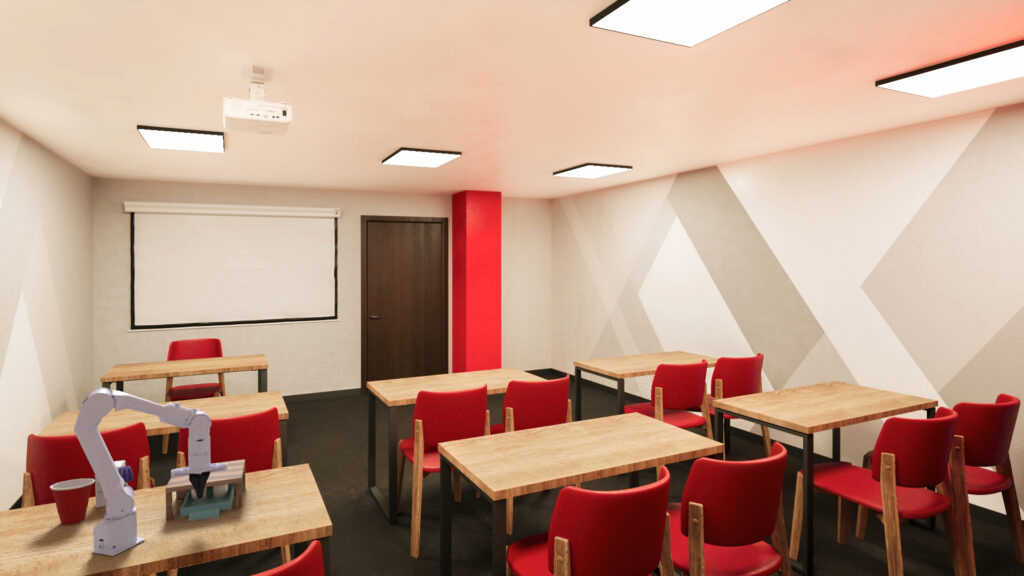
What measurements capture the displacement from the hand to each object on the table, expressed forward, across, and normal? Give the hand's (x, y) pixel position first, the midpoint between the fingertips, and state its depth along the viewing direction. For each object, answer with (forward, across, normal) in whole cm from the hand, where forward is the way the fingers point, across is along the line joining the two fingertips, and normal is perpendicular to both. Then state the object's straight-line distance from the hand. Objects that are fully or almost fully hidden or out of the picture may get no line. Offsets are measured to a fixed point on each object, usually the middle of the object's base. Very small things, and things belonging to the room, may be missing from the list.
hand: (200, 497), depth 164 cm
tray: (+9, 0, +16) cm, 19 cm away
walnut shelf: (+9, 0, +19) cm, 21 cm away
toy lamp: (+9, -22, +14) cm, 28 cm away
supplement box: (+9, -30, +34) cm, 46 cm away
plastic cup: (+9, -37, +21) cm, 43 cm away
